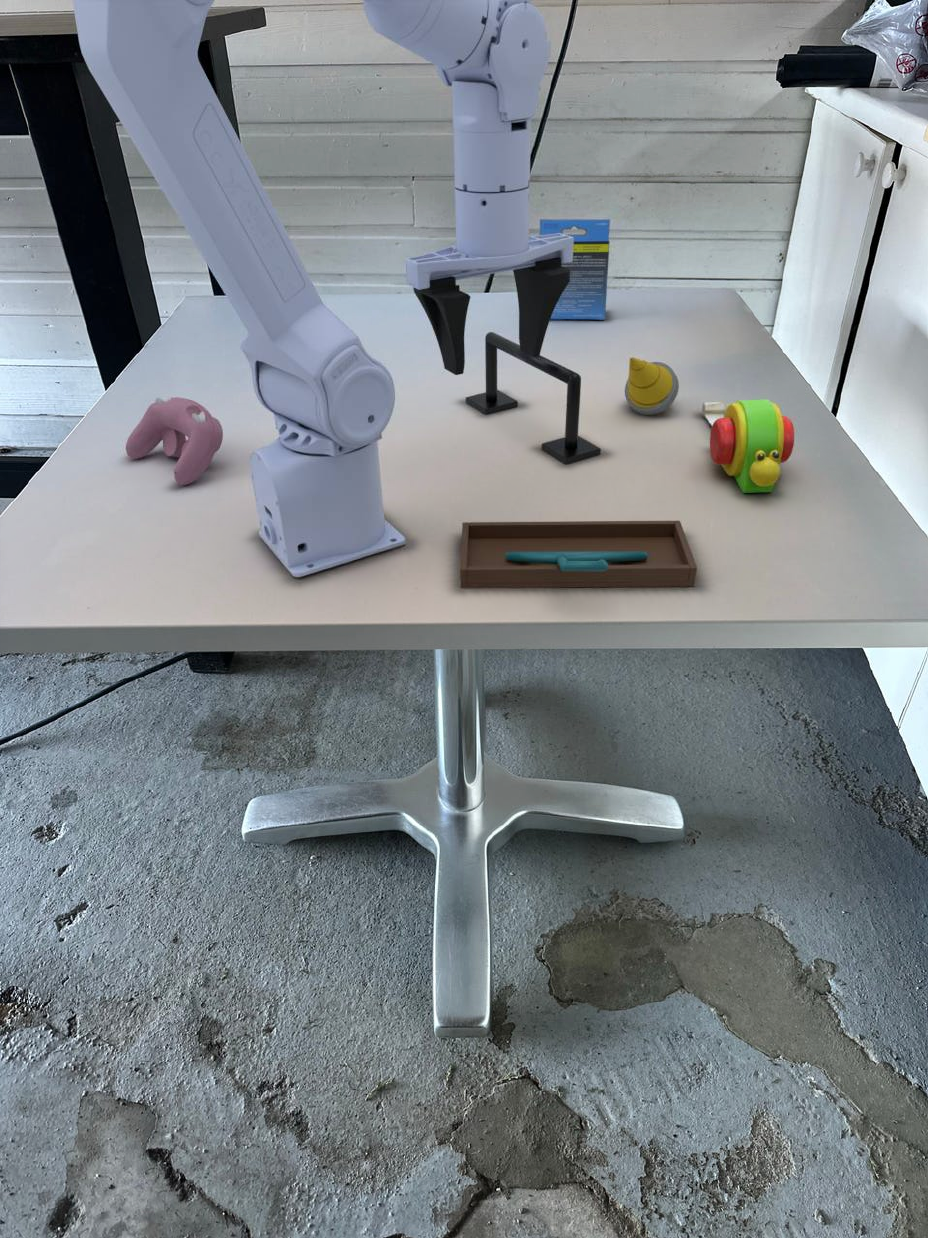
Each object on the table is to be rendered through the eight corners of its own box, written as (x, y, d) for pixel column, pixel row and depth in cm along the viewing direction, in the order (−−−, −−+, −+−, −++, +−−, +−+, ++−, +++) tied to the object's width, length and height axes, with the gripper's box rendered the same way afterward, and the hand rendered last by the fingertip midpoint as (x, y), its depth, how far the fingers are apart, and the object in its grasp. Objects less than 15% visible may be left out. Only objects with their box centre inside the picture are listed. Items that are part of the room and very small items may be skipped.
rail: (565, 464, 82) (569, 384, 77) (465, 402, 94) (463, 330, 90) (600, 454, 83) (606, 375, 79) (497, 394, 96) (497, 323, 92)
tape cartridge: (604, 311, 119) (611, 212, 112) (605, 321, 116) (611, 219, 109) (538, 311, 120) (540, 212, 113) (536, 320, 117) (539, 219, 110)
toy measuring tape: (725, 505, 75) (737, 431, 71) (680, 414, 90) (688, 350, 87) (801, 504, 74) (818, 430, 71) (743, 413, 90) (754, 349, 86)
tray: (460, 588, 65) (460, 569, 64) (462, 539, 71) (462, 521, 70) (694, 586, 65) (697, 567, 64) (677, 537, 70) (680, 520, 69)
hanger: (505, 560, 68) (506, 571, 61) (505, 551, 68) (505, 561, 61) (647, 560, 67) (663, 571, 61) (647, 550, 67) (663, 561, 60)
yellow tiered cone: (690, 416, 91) (662, 371, 83) (640, 433, 93) (608, 391, 85) (681, 371, 93) (652, 322, 84) (632, 388, 95) (599, 343, 87)
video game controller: (220, 491, 82) (237, 416, 80) (177, 486, 78) (193, 408, 77) (162, 461, 88) (177, 390, 86) (119, 455, 84) (134, 381, 82)
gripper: (540, 169, 73) (536, 333, 81) (383, 189, 68) (395, 365, 75) (593, 181, 68) (583, 355, 76) (427, 204, 63) (435, 390, 70)
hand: (492, 362), depth 76 cm, fingers open, 7 cm apart
